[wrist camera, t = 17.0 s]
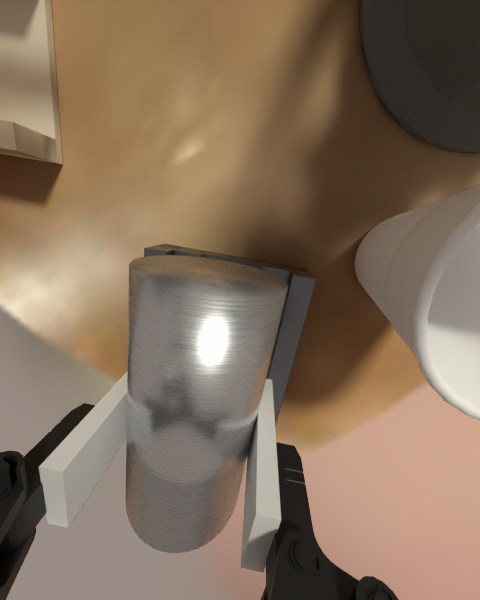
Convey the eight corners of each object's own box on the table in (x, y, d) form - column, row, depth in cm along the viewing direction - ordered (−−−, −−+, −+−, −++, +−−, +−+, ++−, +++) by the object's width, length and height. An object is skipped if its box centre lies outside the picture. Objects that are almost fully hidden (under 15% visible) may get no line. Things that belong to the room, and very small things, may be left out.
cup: (317, 312, 19) (381, 414, 9) (342, 181, 16) (486, 104, 6) (441, 325, 19) (664, 450, 8) (491, 191, 16) (948, 124, 5)
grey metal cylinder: (159, 424, 16) (97, 532, 10) (171, 250, 12) (84, 270, 7) (244, 445, 16) (228, 570, 10) (284, 271, 12) (295, 312, 6)
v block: (165, 243, 19) (144, 248, 15) (306, 269, 18) (316, 279, 15) (157, 377, 23) (139, 403, 20) (272, 400, 22) (274, 430, 19)
